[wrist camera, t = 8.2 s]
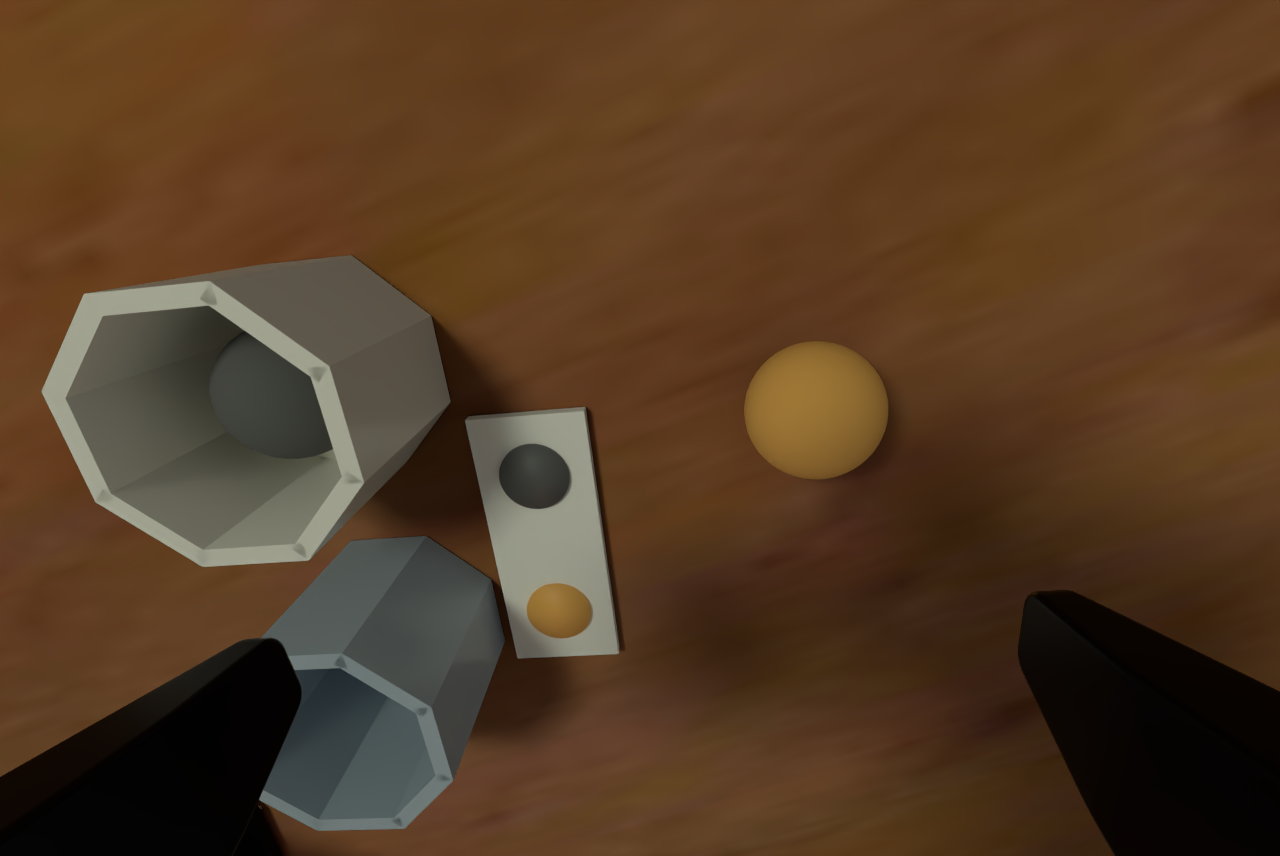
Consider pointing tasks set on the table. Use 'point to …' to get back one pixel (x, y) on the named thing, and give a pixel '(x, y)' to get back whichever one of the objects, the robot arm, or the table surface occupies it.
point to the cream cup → (191, 432)
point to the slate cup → (383, 683)
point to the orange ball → (816, 410)
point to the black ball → (267, 401)
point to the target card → (546, 530)
